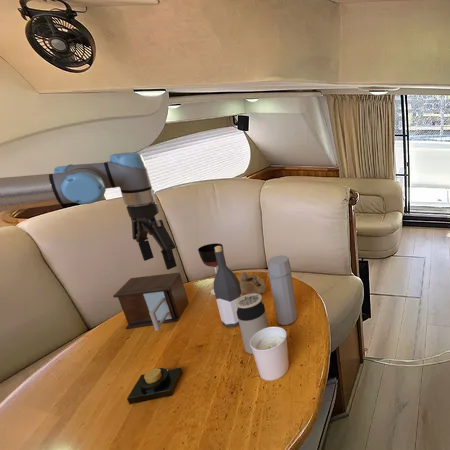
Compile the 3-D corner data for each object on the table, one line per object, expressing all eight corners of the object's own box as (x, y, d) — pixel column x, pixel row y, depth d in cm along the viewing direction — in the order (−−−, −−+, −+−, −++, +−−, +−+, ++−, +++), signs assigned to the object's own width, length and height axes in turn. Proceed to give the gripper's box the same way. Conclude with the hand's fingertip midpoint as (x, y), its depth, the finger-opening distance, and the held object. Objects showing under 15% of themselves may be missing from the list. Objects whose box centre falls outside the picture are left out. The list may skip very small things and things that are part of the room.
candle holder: (254, 386, 88) (246, 353, 84) (259, 360, 97) (252, 329, 92) (290, 379, 90) (285, 346, 86) (292, 354, 99) (287, 324, 95)
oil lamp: (256, 303, 124) (253, 286, 121) (230, 295, 130) (226, 278, 127) (277, 289, 134) (274, 273, 131) (251, 282, 139) (248, 266, 136)
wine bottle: (251, 315, 117) (236, 243, 106) (236, 329, 110) (218, 253, 99) (233, 312, 119) (217, 240, 108) (217, 325, 112) (197, 250, 101)
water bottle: (302, 318, 116) (294, 258, 107) (283, 329, 110) (273, 267, 101) (287, 309, 121) (278, 251, 112) (269, 319, 115) (258, 259, 106)
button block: (129, 404, 83) (124, 393, 81) (143, 380, 90) (139, 369, 88) (172, 395, 85) (168, 384, 84) (182, 372, 92) (179, 362, 91)
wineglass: (211, 286, 136) (200, 244, 128) (233, 283, 138) (224, 242, 131) (206, 296, 129) (195, 253, 121) (230, 293, 131) (220, 250, 124)
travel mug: (274, 346, 102) (266, 300, 96) (249, 358, 98) (238, 311, 91) (266, 334, 108) (257, 289, 101) (241, 344, 103) (231, 299, 97)
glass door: (140, 339, 104) (129, 310, 99) (153, 320, 113) (143, 292, 109) (163, 335, 105) (153, 306, 101) (175, 317, 115) (166, 289, 110)
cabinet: (126, 329, 110) (112, 295, 105) (141, 309, 121) (130, 278, 115) (177, 321, 114) (167, 288, 109) (188, 302, 125) (179, 272, 120)
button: (143, 385, 84) (141, 380, 83) (149, 374, 87) (147, 369, 87) (158, 382, 85) (157, 377, 84) (164, 371, 88) (162, 367, 88)
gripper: (177, 205, 96) (193, 266, 103) (133, 195, 106) (151, 251, 114) (150, 212, 89) (169, 277, 97) (106, 201, 100) (127, 260, 108)
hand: (160, 263), depth 105 cm, fingers open, 13 cm apart
